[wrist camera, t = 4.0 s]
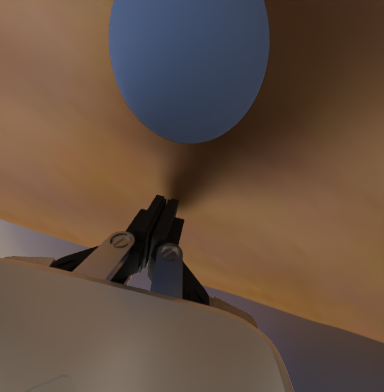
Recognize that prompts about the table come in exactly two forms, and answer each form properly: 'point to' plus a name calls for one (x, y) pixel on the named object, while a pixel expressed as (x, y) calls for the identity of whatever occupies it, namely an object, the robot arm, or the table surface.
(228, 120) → the ball
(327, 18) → the table surface
